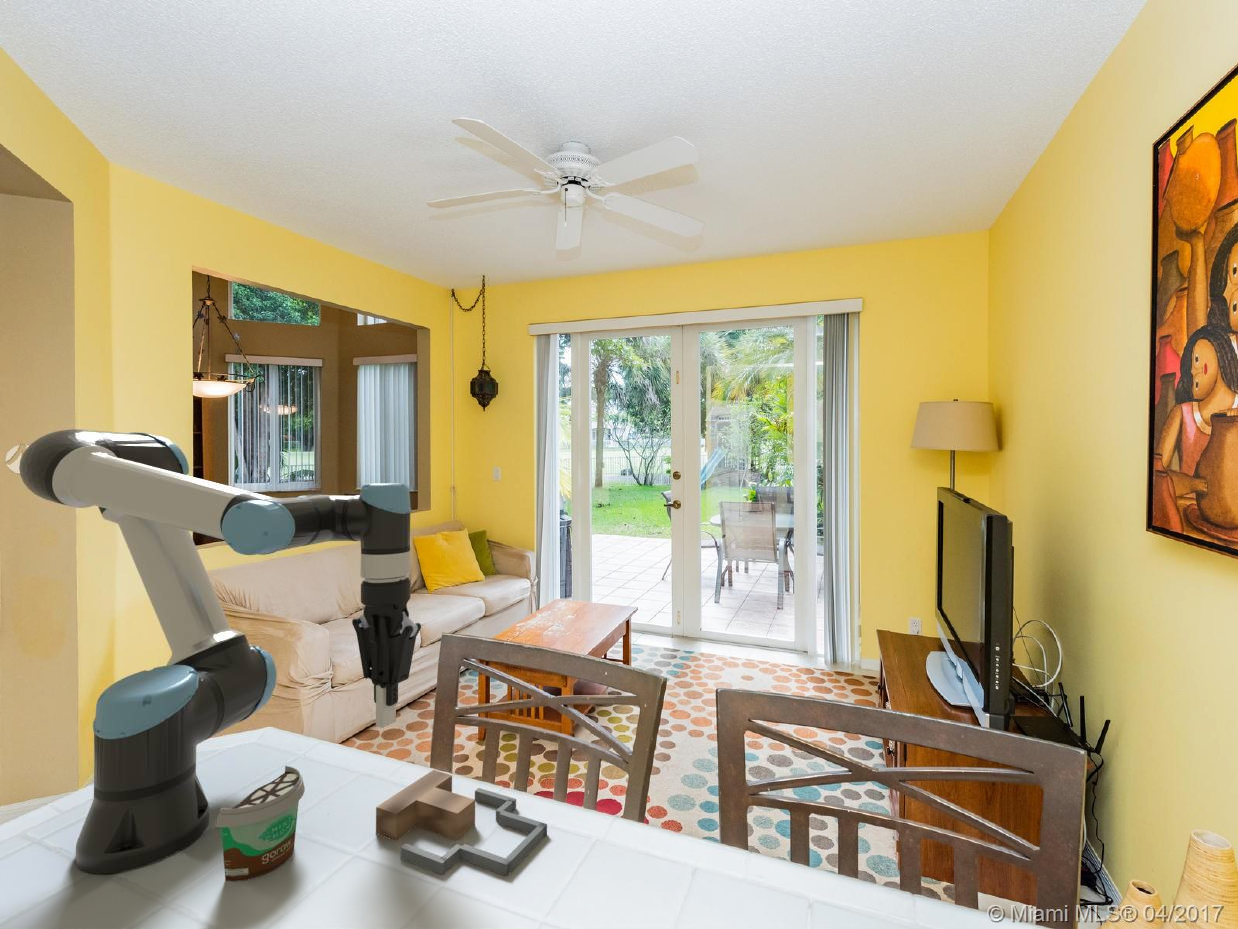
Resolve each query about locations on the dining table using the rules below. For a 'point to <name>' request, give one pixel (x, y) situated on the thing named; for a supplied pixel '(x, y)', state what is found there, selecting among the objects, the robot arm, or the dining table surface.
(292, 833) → the food container
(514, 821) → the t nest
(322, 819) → the dining table surface
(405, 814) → the t block
